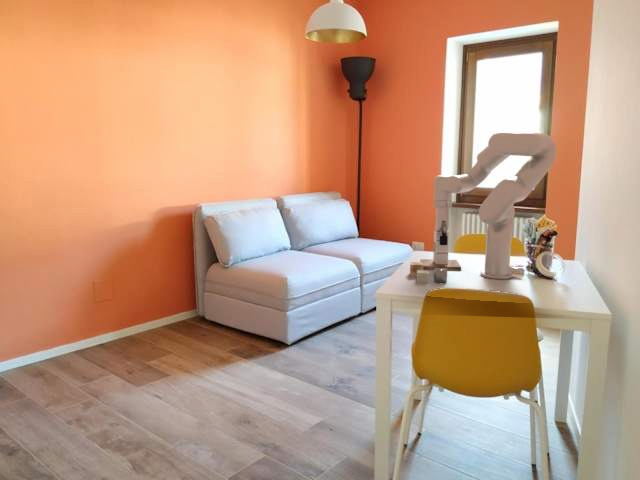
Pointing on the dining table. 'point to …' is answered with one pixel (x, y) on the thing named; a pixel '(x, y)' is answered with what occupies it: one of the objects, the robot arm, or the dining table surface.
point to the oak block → (415, 268)
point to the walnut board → (440, 265)
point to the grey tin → (440, 275)
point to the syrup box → (440, 249)
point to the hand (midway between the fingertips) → (442, 243)
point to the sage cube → (422, 276)
